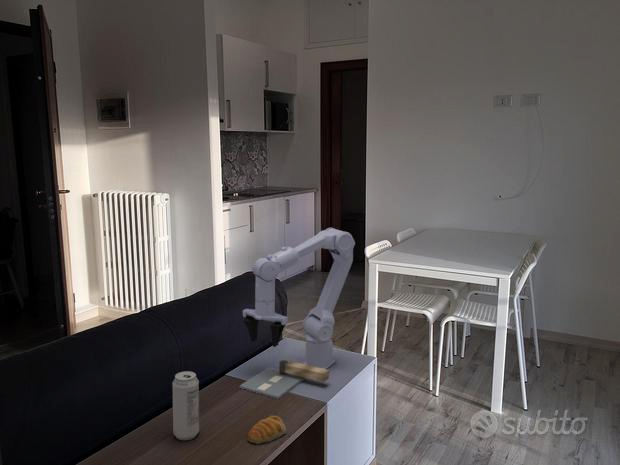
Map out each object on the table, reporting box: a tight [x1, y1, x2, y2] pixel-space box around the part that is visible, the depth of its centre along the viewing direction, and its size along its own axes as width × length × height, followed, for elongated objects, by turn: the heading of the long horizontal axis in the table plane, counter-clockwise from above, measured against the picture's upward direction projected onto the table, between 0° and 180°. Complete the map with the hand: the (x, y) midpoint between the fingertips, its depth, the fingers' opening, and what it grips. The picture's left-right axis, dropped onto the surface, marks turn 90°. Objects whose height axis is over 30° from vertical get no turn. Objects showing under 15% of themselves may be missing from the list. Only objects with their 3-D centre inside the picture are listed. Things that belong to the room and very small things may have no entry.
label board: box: [239, 366, 306, 400], centre depth 155 cm, size 15×13×1 cm
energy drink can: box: [172, 370, 200, 441], centre depth 125 cm, size 6×6×15 cm
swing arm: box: [278, 359, 330, 383], centre depth 157 cm, size 16×3×3 cm, turn 64°
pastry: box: [247, 414, 287, 445], centre depth 127 cm, size 9×7×4 cm
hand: (264, 343), depth 158 cm, fingers open, 7 cm apart
